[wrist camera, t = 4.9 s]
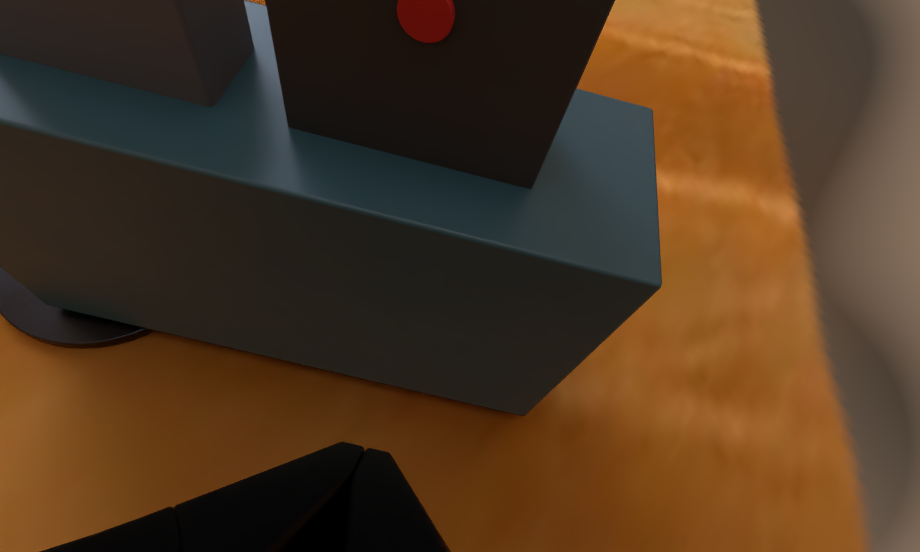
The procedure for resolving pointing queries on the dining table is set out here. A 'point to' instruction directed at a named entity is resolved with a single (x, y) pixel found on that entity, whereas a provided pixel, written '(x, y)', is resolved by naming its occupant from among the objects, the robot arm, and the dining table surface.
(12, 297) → the foot
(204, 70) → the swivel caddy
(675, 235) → the dining table surface
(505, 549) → the dining table surface
